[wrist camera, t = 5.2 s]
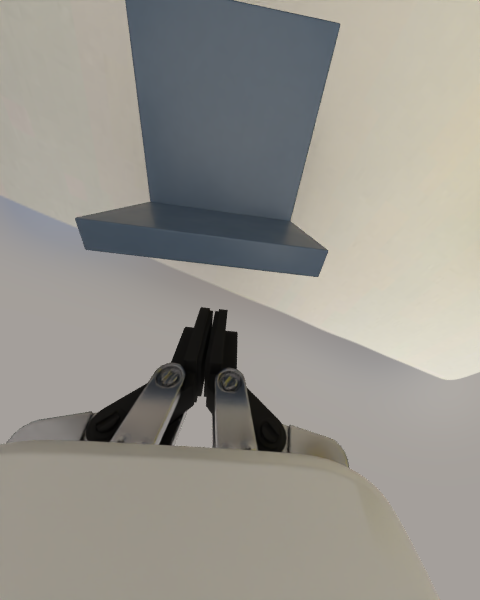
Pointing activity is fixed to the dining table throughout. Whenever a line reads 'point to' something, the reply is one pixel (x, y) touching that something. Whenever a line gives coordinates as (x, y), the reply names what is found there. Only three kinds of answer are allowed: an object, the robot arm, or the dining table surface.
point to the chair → (221, 134)
